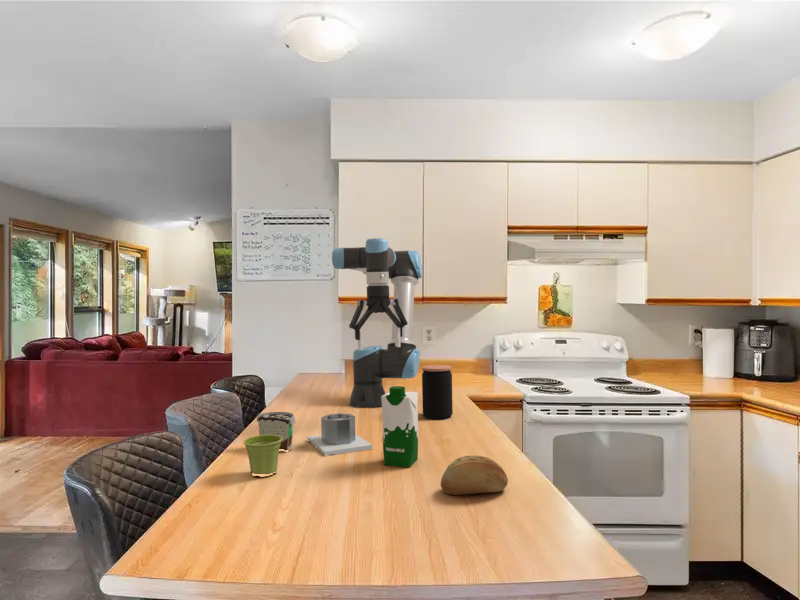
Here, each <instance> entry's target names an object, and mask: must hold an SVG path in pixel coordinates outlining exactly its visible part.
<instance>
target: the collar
mask: <svg viewBox="0 0 800 600" xmlns="http://www.w3.org/2000/svg"><path fill="white" fill-rule="evenodd" d="M335 419H339V420H335ZM320 421H321V422H320V426H321V430H320V431H321V435H322V442H323V443H325V444H328V445H343V444H350V443H352V442H353V441H355V440H356V439H355V434H356V416H355V415H354V414H352V413H343V412H342V413H341V412H339V413H332V414H326V415H323V416H321V418H320Z"/></svg>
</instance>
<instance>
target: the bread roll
mask: <svg viewBox="0 0 800 600" xmlns="http://www.w3.org/2000/svg"><path fill="white" fill-rule="evenodd" d="M508 481H509V479H508V476H507V474H506V472H505V470H504V469H503V467H502V466H501V464H499V463H498V462H496V461H495V460H493V459H491V458H489V457H487V456H483V455H474V454H473V455H464V456H460V457H458V458H455V459H454V460H453V461H451V462H450V463H449V464H448V466H447V468H446V469H445V471H444V473H443V474H442V476H441V480H440V487H441V490H442V491H443V492H444V493H446V494H448V495H450V496H452V495H453V496H460V495H472V494H473V495H474V494H484V493H487V494H488V493H497V492H502V491H503V490H504V489H505V488H507V486H508Z"/></svg>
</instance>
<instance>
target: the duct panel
mask: <svg viewBox="0 0 800 600" xmlns="http://www.w3.org/2000/svg"><path fill="white" fill-rule="evenodd" d="M335 420H339V419H335ZM306 439H308V440H309V441H310V442H311V443H312V444H313V445H314V446H316V447H317V448H318V449H319V450H320V451H321V452H322V453H323V454H324V455H330V456H332V455H331V454H336V455H341V454H340V453H343V454H348V453H347V452H350V453H355V452H354V451H356V452H360V451H361V450H363V451H369V450H373V444H372V443H371V442H369V441H367V440H365V439H364V438H362V437H361V436H359V435H358V434H356V433H355V439H356V440H355V441H353V442H352V443H350V444H343V445H328V444H325V443H323V442H322V434H318V435H310V436H309V435H308V436H306ZM311 443H310V444H311ZM312 444H311V445H312ZM313 445H312V446H313ZM314 446H313V447H314ZM318 449H317V450H318ZM368 449H369V450H368ZM319 450H318V451H319ZM320 451H319V452H320ZM321 452H320V453H321ZM322 453H321V454H322ZM323 454H322V455H323ZM324 455H323V456H324Z"/></svg>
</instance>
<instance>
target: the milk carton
mask: <svg viewBox="0 0 800 600" xmlns="http://www.w3.org/2000/svg"><path fill="white" fill-rule="evenodd" d="M418 397H419V393H418V392H416V391H406V387H405V386H403V385H401V386H400V385H399V386H398V385H397V386H396V385H395V386H390V387H389V392H385V395H383V396H381V399H382V406H381V415H382V451H383V466H388V467H389V466H390V467H399V468H400V467H401V468H411V466H412V465H414V464H415V463H416V462H417V461H418V460H419V459H418V458H419V457H418V456H419V421H418V420H419V416H418V411H419V410H418V407H419V406H418V405H419V403H418Z"/></svg>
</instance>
